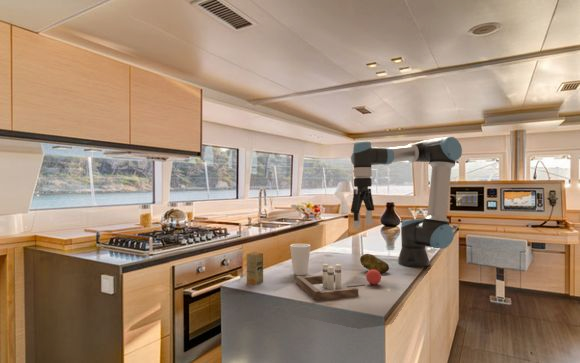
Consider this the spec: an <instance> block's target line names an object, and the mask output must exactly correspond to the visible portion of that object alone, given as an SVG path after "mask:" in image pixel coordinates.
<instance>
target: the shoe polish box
mask: <svg viewBox="0 0 580 363" xmlns="http://www.w3.org/2000/svg"><path fill="white" fill-rule="evenodd" d="M246 283H247V284H251V285H259V284H260V283H264V253H261V252H255V251H254V252H250V253H247V254H246Z"/></svg>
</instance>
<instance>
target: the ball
mask: <svg viewBox="0 0 580 363" xmlns="http://www.w3.org/2000/svg"><path fill="white" fill-rule="evenodd" d="M365 277H366V281H367V282H368V283H369V284H370V285H373V286H374V285H377V284H379V283H380V282H381V279H382V273H379V272H378V271H377V270H374V269H372V270H368V271H367V272H366V275H365Z"/></svg>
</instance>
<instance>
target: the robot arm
mask: <svg viewBox="0 0 580 363" xmlns="http://www.w3.org/2000/svg"><path fill="white" fill-rule="evenodd" d="M462 154H463V148H462V145H461V143H460V141H459V139H457V138H456V137H454V136H443V137H437V138H431V139H425V140H422V141H419V142H415V143H409V144H407V145H402V146H393V147H392V146H391V147H386V146H383V147H379V146H378V147H376V146H372V143H371V142H370V141H364V140H363V141H356V142H354V143H353V150H352V153H351V156H350V161H351V163H352V165H353V170H352V172H353V177H354V178H353V187H355V188H354V189H353V196H352V202H351V207H350V208H351V209H350V213H351V214H353V216H352V217H353V229H355V230H356V229H357V230H361V212H360V211H361V208H362V204H364V205H365V209H366V210H365V226H373V211H375V206H374V200H373V195H372V188H371V187H372V184H373V183H372V178H371V177H372V176H373V175H372V174H373V173H372V172H373V171H372V166H377V165H390V164H392V163H397V162H398V163H399V162H400V163H401V162H410V163H414V162H415V163H417V162H418V163H419V162H422V163H429V165H430V166H431V176H430V177H431V178H430V186H429V193H428V194H429V196H428V206H427V213H426V214H427V215H425V216H424V217H423V218H419V219H403V220H402V221H401V227H400V230H401V231H400V232H401V233H400V234H401V236H400V237H401V249H400V253H399V256H398V259H397V262H398V264H399V265H402V266H404V267H405V266H407V267H411V268H414V267H416V268H420V267H421V268H423V267H428V266H430V260H429V256H428V253H427V250H426V247H429V248H433V249H439V250H440V249H441V250H442V249H446V248H448V247H449V246H450V245H451V244H452V243H453V241H454V238H455V231H454V228H453V227H452V226H451V225H450V220H449V219H448V218H447V214H448V205H449V204H448V203H449V196H450V194H449V193H450V184H451V174H452V168H454V167H455V166H456V161H458V160H459V159H460V158H461V157H462Z"/></svg>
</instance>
